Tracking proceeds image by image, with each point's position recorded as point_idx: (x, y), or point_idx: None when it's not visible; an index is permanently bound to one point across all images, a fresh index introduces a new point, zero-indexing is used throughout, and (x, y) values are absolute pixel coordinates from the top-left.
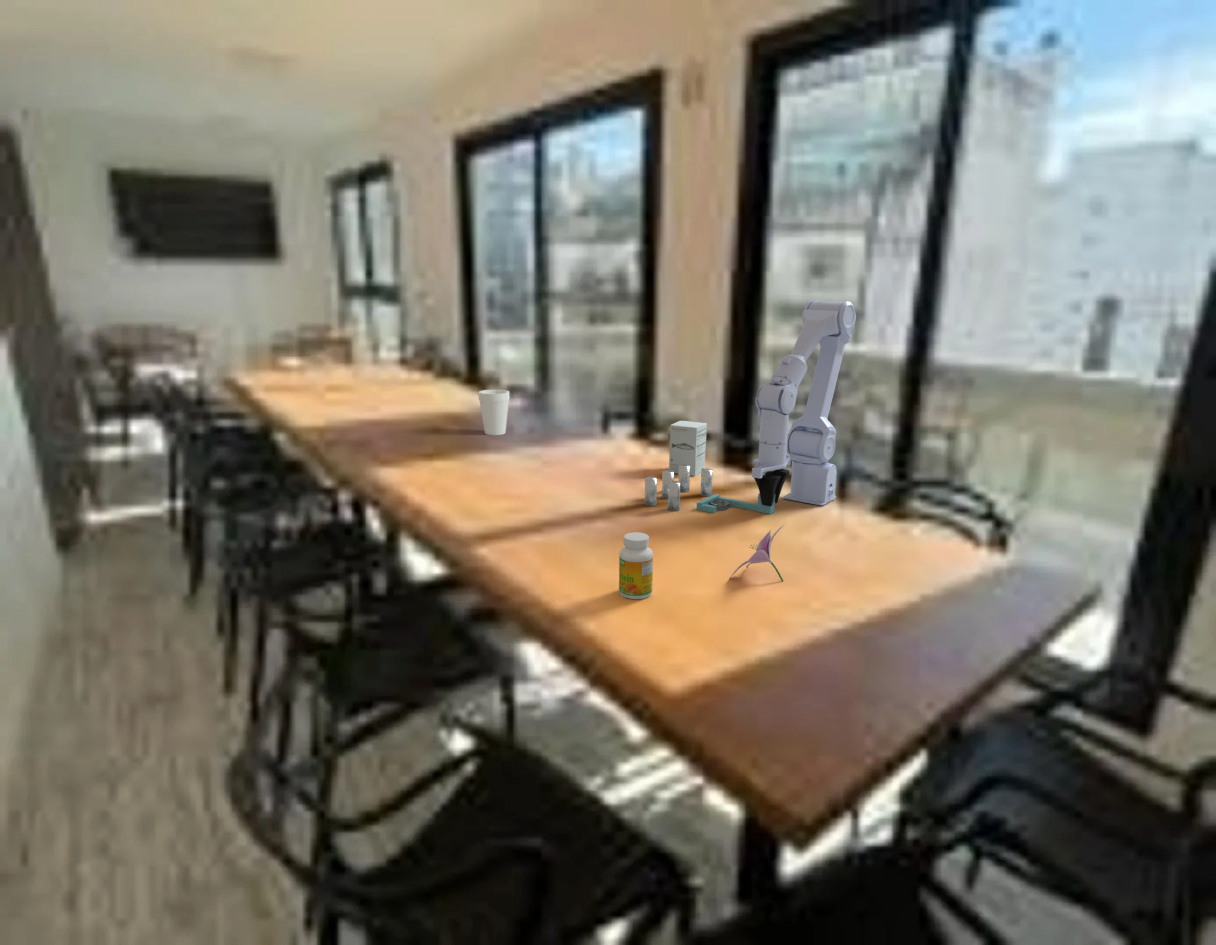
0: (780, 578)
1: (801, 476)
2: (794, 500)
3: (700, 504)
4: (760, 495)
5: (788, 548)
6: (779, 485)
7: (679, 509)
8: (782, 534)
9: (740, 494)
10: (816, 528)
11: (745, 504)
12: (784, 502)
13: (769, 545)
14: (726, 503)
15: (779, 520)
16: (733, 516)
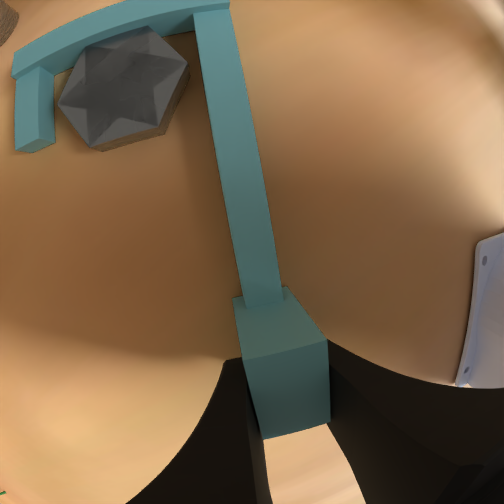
0: (1, 492)
1: None
2: (472, 294)
3: (15, 73)
4: (211, 398)
5: (66, 493)
6: (360, 478)
7: (1, 43)
8: (105, 475)
9: (411, 50)
10: None
11: (226, 209)
12: (447, 276)
13: None
14: (131, 118)
15: None
16: (63, 262)
